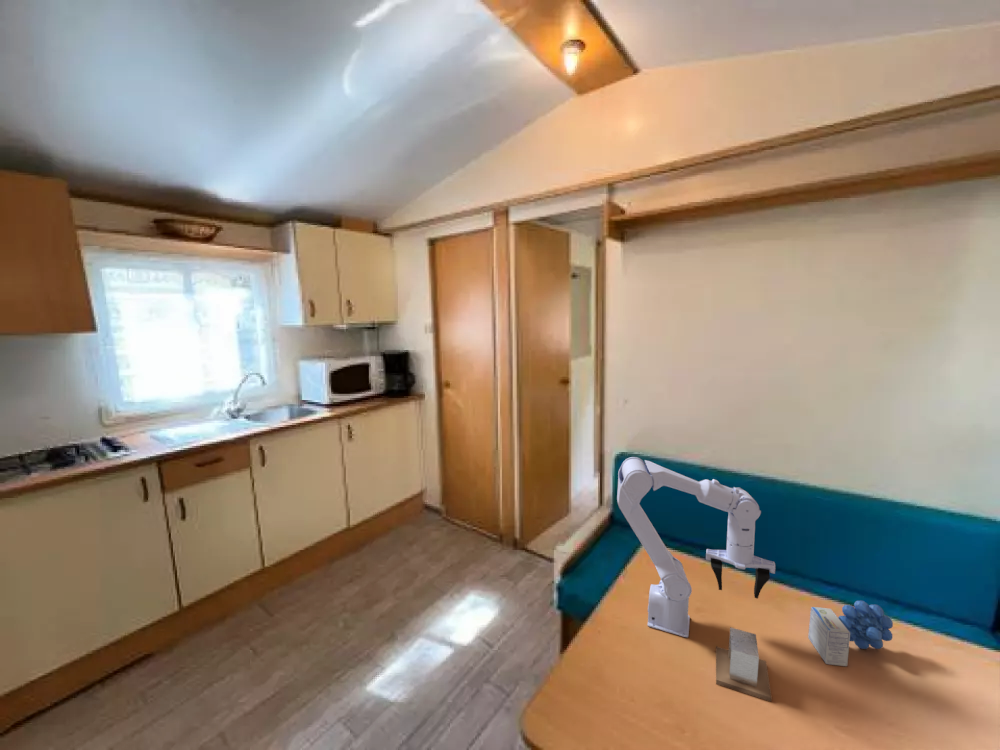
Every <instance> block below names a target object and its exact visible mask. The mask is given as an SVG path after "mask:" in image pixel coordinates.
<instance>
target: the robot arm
mask: <svg viewBox="0 0 1000 750" xmlns="http://www.w3.org/2000/svg"><path fill="white" fill-rule="evenodd" d="M617 475H618V476H617V478H618V479H617V495H616V500H617V501H616V502H617V505H618V508H619V510H620V511H621V513H622V514H623V516H624V518H625V519H626V521H627V523H628V524H629V526H630V528H631V529H632V531H633V533H634V534H635V535H636V537H637V539H638V540H639V542H640V544H641V545H642V547H643V549H644V550H645V552H646V554H647V555H648V556H649V558H650V560H651V561H652V563H653V565H654V566H655V568H656V571H657V573H658V576H659V578H660V580H659V583H658V584H652V583H651V584H650V586H649V593H648V605H647V613H648V614H647V627H650V628H653V629H655V630H660V631H663V632H666V633H669V634H673V635H677V636H680V637H683V638H689V633H690V632H689V631H690V617H691V616H690V615H689V602H690V601H689V600H690V597H691V594H692V591H693V590H692V586H691V583H690V582H689V580H688V577H687V575H686V572H685V569H684V566H683V563H682V562H681V560H679V559H678V558H676V557H675V556H674V555H673V554H672V553H671V551H670V550H669V549H668V548H667V547H666V544H665V543H664V541H663V540H662V539H661V537H660V535H659V534H658V531H657V530H656V528H655V527H654V526H653V523H652V522H651V521H650V519H649V517H648V515H647V514H646V512H645V511H644V509H643V508H642V505H641V504H640V503H641V501H642V499H643V498H644V497H645V496H646V495H647V493H649V492H650V490H651V488H652V490H653V491H657V490H658V489H660V488H661V487H668V488H672V489H674V490H678V491H681V492H684V493H687V494H691V495H693V496H695V497H696V499H697V501H698V502H699V503H701V504H704V505H707V506H709V507H712V508H715V509H717V510H721V511H723V512H727V514H728V516H727V531H726V547H725V548H726V549H710V548H706V551H705V552H706V553H705V560H706V561H709V562H710V566H711V569H712V571H713V573H714V576H715V578H716V581H717V585H718V590H719V591H723V580H722V579H723V577H722V575H723V563H727V564H729V565H733V566H734V567H735V568H736V569H739V570H746V568H749V569H755V579H754V580H755V581H754V586H753V596H754V598H755V599H759V597H760V596H759V595H760V593H761V591H762V589H763V587H764V586H765V585H766V583H768V582H769V581H770V579H771V578H770V577H771V576H770V573H771V574H776V563H775V561H772V560H768V559H766V558H762V557H759V556H756V555H754V554H755V553H754V552H755V533H756V521H757V520H758V519H759V517H760V516H761V514H762V510H760V506H759V504H758V502H757V500H755V498H754V497H752V495H750V494H749V492H748V491H746V490H744V489H743V488H741V487H735V486H733V487H729V486H727V485H723V484H721V483H720V482H719V481H718V480H717V479H714V478H713V479H712V480H709V479H708V478H707V479H702V480H699V481H698V480H696V479H693V478H691V477H688V476H685V475H684V474H681V473H678V472H676V471H673V470H671V469H669V468H666V467H664V466H661V465H660V464H657V463H654V462H653V461H650V460H646V459H644V460H643V459H641V458H640V457H637V456H631V457H628V458H625V460H623V462H622V463H621V465H620V467H619V469H618V473H617Z"/></svg>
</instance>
